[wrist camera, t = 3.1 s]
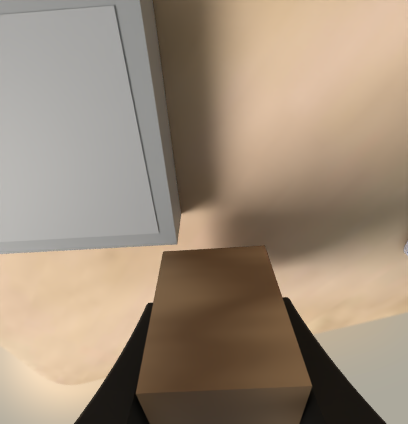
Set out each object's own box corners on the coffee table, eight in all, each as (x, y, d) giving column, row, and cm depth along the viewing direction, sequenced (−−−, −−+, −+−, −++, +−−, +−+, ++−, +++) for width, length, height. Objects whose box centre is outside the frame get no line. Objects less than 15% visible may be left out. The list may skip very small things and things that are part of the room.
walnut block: (264, 245, 11) (312, 386, 6) (259, 310, 13) (290, 447, 9) (163, 251, 11) (136, 393, 6) (175, 314, 13) (162, 452, 9)
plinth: (151, -10, 8) (134, -33, 6) (181, 214, 13) (177, 245, 11) (-106, 11, 9) (-207, -4, 6) (15, 223, 13) (-21, 255, 11)
